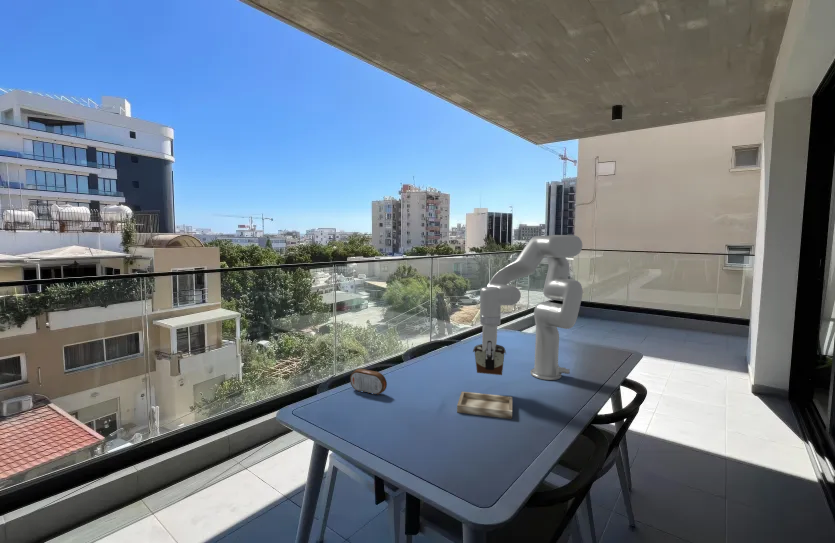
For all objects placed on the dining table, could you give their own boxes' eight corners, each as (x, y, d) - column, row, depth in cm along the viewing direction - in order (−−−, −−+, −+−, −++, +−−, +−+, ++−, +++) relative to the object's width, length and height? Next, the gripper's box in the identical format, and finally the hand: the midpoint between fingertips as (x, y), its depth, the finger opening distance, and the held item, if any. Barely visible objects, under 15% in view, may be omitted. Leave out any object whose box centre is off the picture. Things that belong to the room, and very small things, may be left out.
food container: (507, 369, 149) (507, 344, 148) (506, 375, 144) (506, 349, 142) (476, 366, 153) (475, 342, 152) (473, 372, 148) (472, 346, 146)
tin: (387, 394, 145) (387, 372, 144) (383, 397, 142) (383, 375, 141) (353, 387, 151) (353, 366, 151) (348, 390, 149) (348, 368, 148)
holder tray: (512, 403, 138) (512, 396, 138) (512, 418, 127) (512, 411, 126) (461, 398, 142) (461, 391, 142) (457, 412, 131) (457, 405, 131)
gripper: (481, 314, 155) (481, 358, 157) (478, 325, 138) (478, 374, 140) (501, 315, 153) (501, 359, 155) (499, 326, 136) (499, 375, 139)
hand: (490, 366), depth 148 cm, fingers closed on food container, 5 cm apart
